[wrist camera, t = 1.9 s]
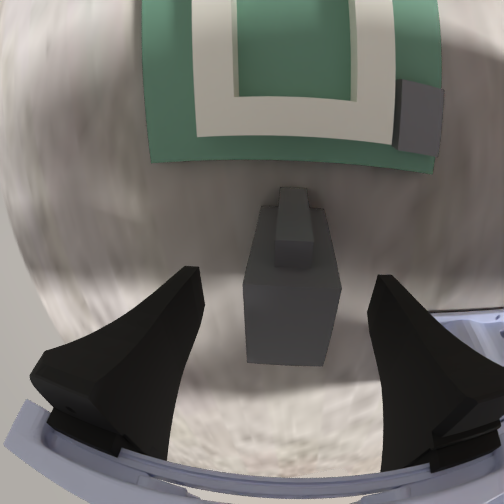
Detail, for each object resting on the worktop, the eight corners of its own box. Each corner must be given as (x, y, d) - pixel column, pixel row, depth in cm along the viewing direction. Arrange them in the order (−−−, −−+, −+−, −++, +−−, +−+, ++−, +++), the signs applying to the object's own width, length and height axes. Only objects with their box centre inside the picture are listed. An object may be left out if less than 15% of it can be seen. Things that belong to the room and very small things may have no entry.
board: (424, -32, 6) (440, -44, 4) (425, 169, 11) (443, 183, 10) (151, -38, 7) (132, -51, 6) (158, 159, 13) (139, 170, 11)
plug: (325, 189, 13) (346, 260, 8) (316, 276, 15) (322, 366, 10) (261, 186, 13) (241, 256, 8) (261, 274, 16) (247, 362, 11)
